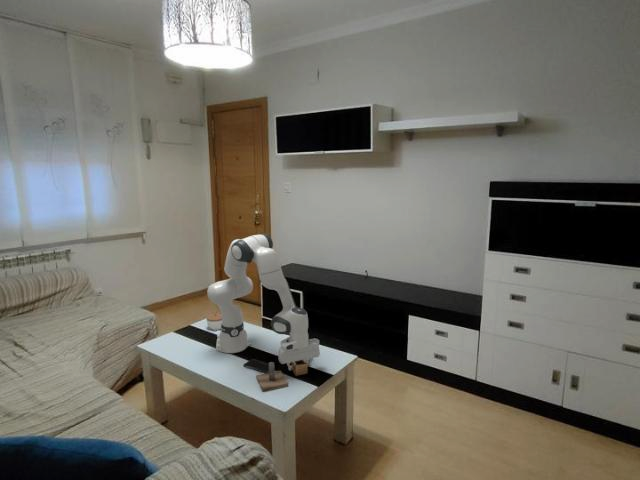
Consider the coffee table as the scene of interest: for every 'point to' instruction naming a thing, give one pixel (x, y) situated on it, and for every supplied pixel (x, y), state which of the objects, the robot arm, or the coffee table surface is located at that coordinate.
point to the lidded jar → (214, 321)
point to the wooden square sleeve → (300, 367)
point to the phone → (257, 366)
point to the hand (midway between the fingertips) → (299, 367)
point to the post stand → (271, 379)
